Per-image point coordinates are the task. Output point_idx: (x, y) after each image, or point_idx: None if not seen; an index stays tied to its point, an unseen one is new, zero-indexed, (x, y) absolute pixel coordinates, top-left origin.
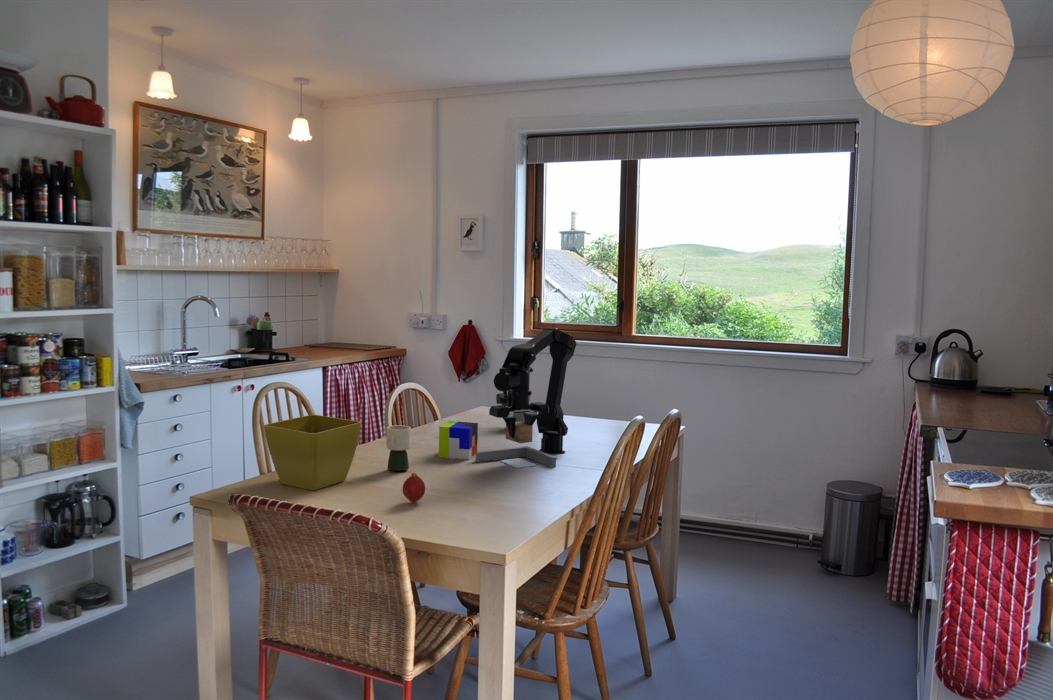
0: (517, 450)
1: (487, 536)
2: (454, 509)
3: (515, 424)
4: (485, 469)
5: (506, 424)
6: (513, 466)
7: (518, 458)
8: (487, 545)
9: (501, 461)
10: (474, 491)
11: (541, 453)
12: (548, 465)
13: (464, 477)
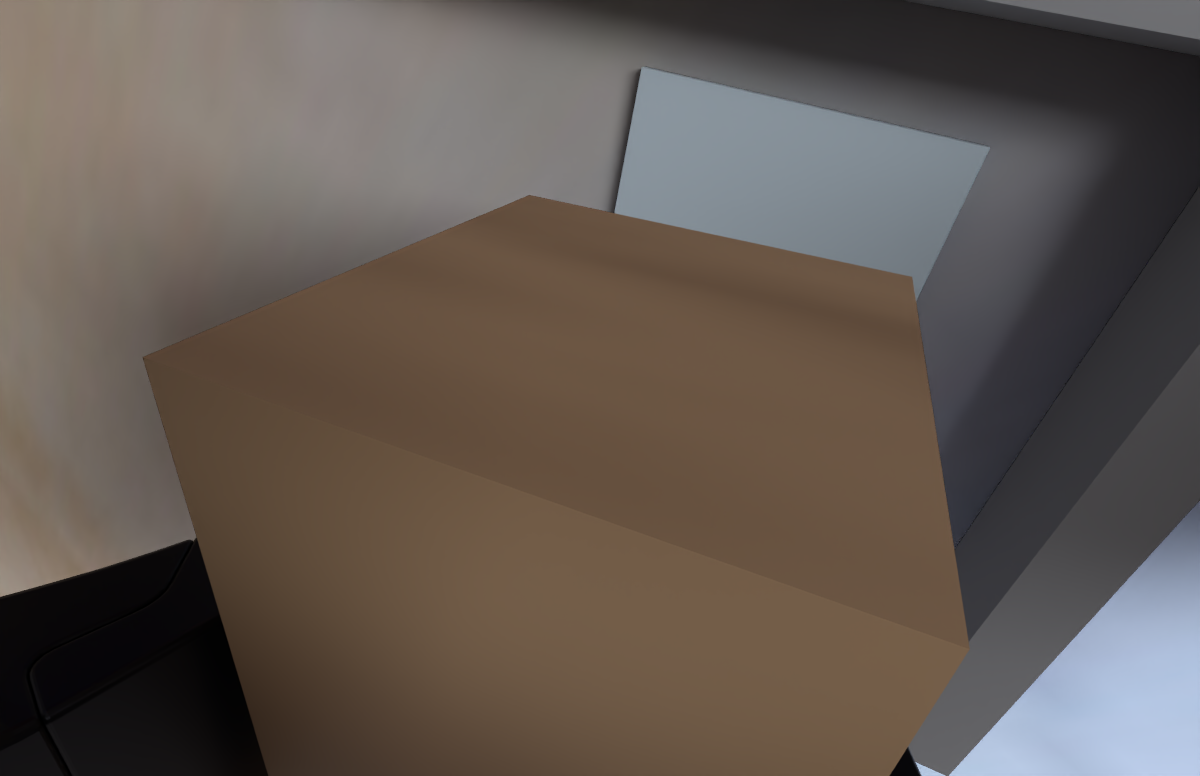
0: (1117, 27)
1: None
2: (27, 587)
3: (359, 773)
4: (322, 246)
5: (74, 587)
6: None
7: (953, 159)
8: None
9: (638, 101)
10: (122, 527)
11: (1019, 588)
12: None
13: (120, 307)
